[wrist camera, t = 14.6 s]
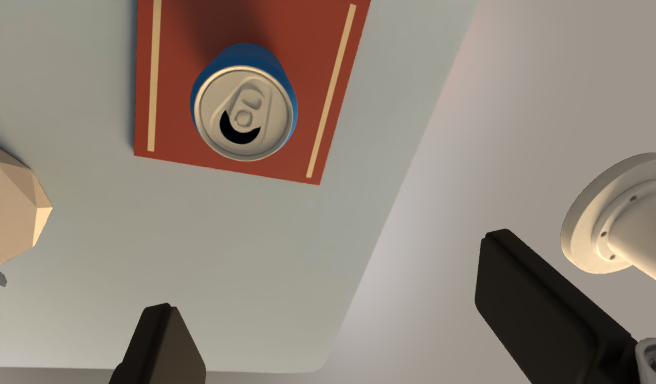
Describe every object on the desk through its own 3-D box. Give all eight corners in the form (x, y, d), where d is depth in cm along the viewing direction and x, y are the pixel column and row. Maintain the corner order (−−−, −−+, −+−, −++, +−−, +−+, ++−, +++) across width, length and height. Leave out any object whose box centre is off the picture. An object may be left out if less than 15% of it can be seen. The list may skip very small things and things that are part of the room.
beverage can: (199, 96, 30) (168, 140, 19) (229, 26, 28) (212, 32, 17) (266, 128, 32) (271, 183, 22) (298, 66, 30) (319, 93, 20)
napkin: (141, -77, 24) (139, -79, 24) (369, 0, 29) (371, 0, 29) (135, 154, 31) (133, 155, 31) (318, 183, 36) (319, 185, 36)
